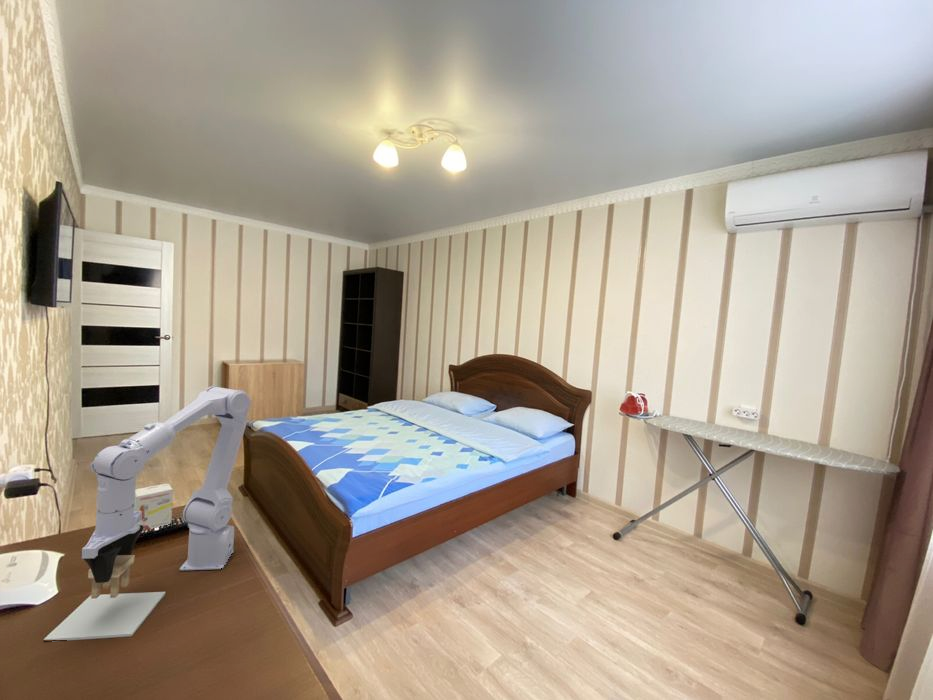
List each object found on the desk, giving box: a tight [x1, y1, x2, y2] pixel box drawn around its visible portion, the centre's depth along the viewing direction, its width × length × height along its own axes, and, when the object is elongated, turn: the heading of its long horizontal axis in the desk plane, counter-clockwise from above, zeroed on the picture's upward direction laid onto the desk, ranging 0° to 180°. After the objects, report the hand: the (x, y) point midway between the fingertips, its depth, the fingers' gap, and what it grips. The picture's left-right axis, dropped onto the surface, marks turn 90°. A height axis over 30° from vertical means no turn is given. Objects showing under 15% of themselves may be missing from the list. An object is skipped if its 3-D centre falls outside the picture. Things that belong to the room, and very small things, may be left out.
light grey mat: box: [43, 591, 167, 641], centre depth 79 cm, size 14×12×1 cm
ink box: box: [134, 483, 174, 531], centre depth 110 cm, size 9×5×12 cm, turn 141°
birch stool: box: [87, 554, 135, 599], centre depth 79 cm, size 5×5×6 cm
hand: (112, 572), depth 79 cm, fingers closed on birch stool, 5 cm apart
